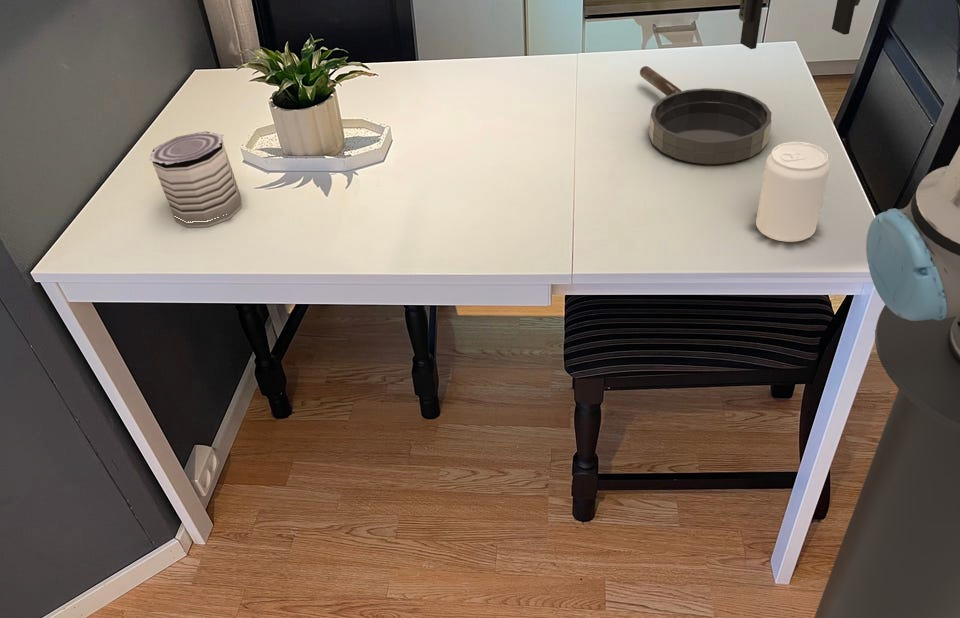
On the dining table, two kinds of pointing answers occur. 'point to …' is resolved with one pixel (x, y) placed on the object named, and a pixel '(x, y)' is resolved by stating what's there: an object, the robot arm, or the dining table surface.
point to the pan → (710, 126)
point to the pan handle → (658, 81)
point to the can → (197, 179)
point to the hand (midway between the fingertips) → (794, 38)
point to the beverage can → (792, 191)
